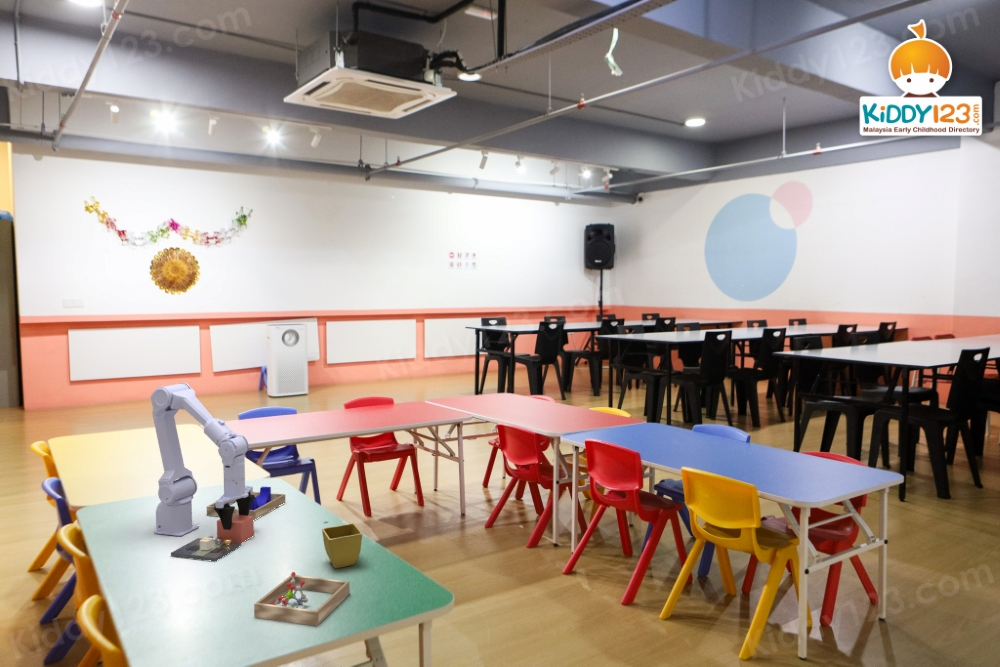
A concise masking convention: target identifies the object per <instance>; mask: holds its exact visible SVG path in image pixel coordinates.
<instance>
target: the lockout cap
mask: <svg viewBox="0 0 1000 667" xmlns="http://www.w3.org/2000/svg"><path fill="white" fill-rule="evenodd" d="M254 534H255V533H254V521H253V516H245V515H235V514H233V516H232V527H231V529H230V530H225V529H223V526H222V523H221V520H220V518H219V519H217V520H216V538H222V541H224V540H225V539H231V542H239V543H242V542H244V541H245V540H247V539H248V538H250V537H252V536H253V537H255V536H254ZM253 537H252V538H253ZM250 539H251V538H250ZM248 540H249V539H248ZM248 540H247V541H248ZM245 542H246V541H245ZM245 542H244V543H245ZM242 544H243V543H242Z"/></svg>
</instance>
